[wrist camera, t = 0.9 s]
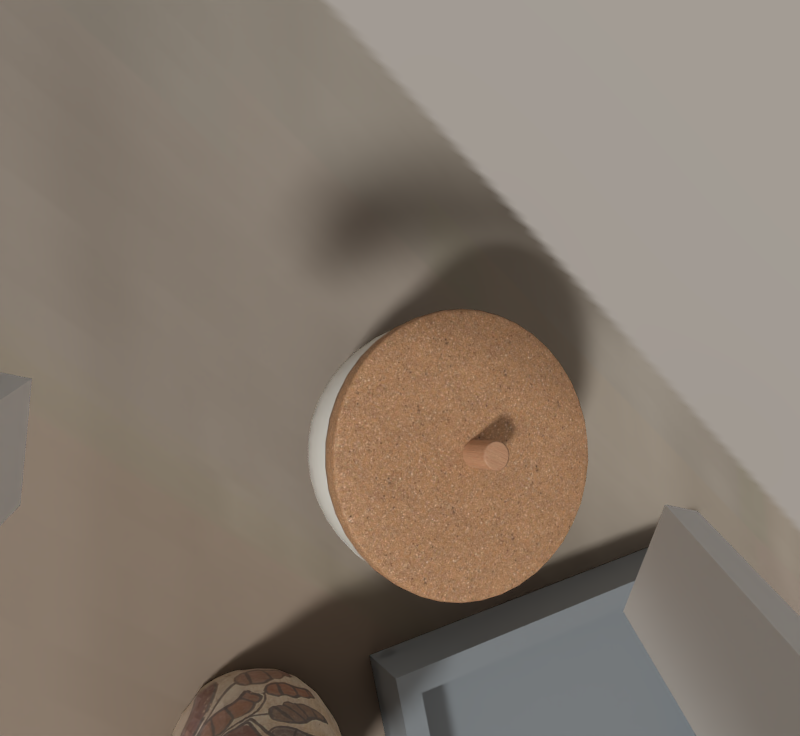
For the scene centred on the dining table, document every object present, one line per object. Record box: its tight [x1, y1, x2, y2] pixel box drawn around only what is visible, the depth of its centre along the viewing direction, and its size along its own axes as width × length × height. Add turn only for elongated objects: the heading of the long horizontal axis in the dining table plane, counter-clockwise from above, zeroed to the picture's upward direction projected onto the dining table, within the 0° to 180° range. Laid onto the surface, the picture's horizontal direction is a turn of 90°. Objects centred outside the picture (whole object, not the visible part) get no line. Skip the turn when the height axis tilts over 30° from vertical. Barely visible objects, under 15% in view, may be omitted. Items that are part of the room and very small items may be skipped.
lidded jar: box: [308, 309, 588, 603], centre depth 27 cm, size 11×11×9 cm
